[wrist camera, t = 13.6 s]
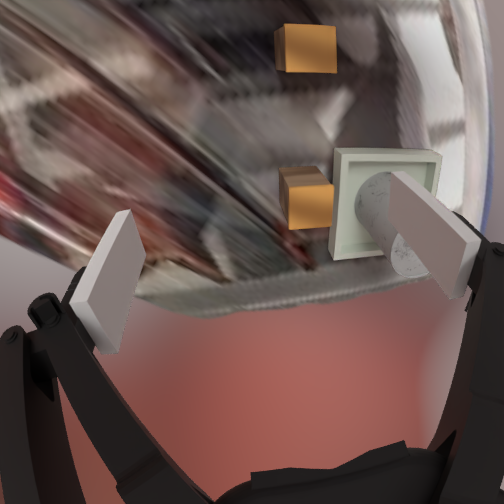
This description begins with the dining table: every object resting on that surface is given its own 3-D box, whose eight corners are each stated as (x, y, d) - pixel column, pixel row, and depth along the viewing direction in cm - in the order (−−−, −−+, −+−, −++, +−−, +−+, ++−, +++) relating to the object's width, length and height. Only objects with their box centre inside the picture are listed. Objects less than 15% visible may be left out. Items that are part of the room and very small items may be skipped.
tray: (334, 147, 41) (341, 154, 38) (431, 149, 41) (442, 156, 39) (327, 249, 49) (333, 260, 47) (415, 240, 50) (423, 250, 48)
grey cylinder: (381, 158, 41) (428, 194, 31) (420, 193, 44) (466, 233, 34) (341, 210, 45) (375, 259, 35) (383, 239, 48) (419, 288, 38)
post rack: (272, 31, 32) (284, 23, 25) (315, 31, 32) (335, 26, 26) (278, 202, 44) (289, 229, 38) (315, 200, 45) (331, 226, 38)
